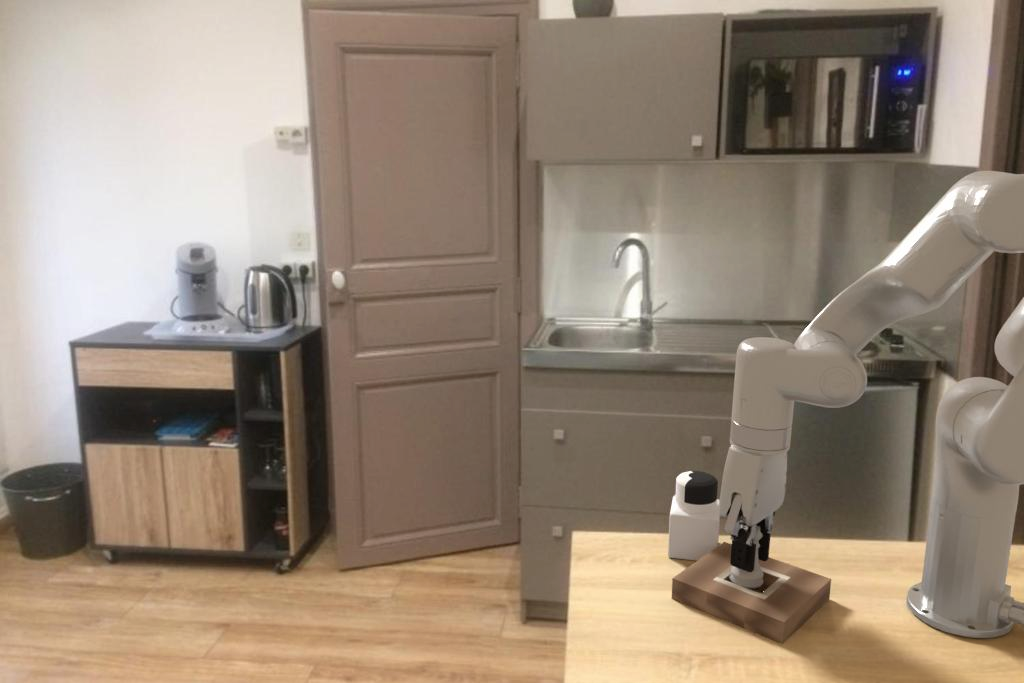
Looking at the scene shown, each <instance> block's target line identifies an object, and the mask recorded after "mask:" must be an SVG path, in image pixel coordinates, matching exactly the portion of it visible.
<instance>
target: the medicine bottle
mask: <svg viewBox="0 0 1024 683" xmlns="http://www.w3.org/2000/svg"><path fill="white" fill-rule="evenodd" d="M718 487H719V481H718V479H717V478H716V477H715V476H714V475H712V474H710V473H708V472H705V471H701V470H689V471H685V472H681V473H680V474H678V476H677V477H676V479H675V494H674V495H673V496H672V501H671V507H670V512H669V519H668V520H669V521H668V522H669V524H668V547H667V556H668V558H670V559H679V560H686V561H687V560H688V561H695V562H696V561H698V560H699V559H701V558H702V557H703V556H705V555H706V554H708V553H709V552H711V551H712V550H713V549H715V548H716V547H718V546H719V536H720V523H721V522H720V518H721V517H720V515H719V502H720V498H719V499H718Z"/></svg>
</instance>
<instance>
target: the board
mask: <svg viewBox="0 0 1024 683" xmlns="http://www.w3.org/2000/svg"><path fill="white" fill-rule="evenodd" d="M731 547H732V543H729V542H726V541H723V542H722V543H721V544H718V547H716V548H715V549H713V550H712V551H711V552H709V553H708V554H706V555H705V556H703V557H702V558H701V559H699V560H698V561H695V562H694V563H692V564H690V565H689V566H687V568H685V569H684V570H682V571H680V572H679V573H678V574H676V575H675V576H674V577H672V578H671V579H672V580H671V581H672V582H671V583H672V584H671V600H672V599H673V600H675V601H678V602H680V603H683V604H685V605H687V606H689V607H692V608H695V609H697V610H700V611H702V612H705V613H706V612H707V614H709V615H711V616H714V617H717V618H718V619H721V620H724V621H726V622H728V623H731V624H733V625H735V626H738V627H741V628H743V629H746V630H748V631H749V632H753V633H756V634H757V635H761V636H763V637H765V638H767V639H770V640H773V641H775V642H777V643H780V644H782V645H783V644H784V643H785V642H786V641H787V640H788V639H789V638H790V637H791V636H793V635H794V633H795V632H796V631H798V630H799V628H801V627H802V626H803V625H804V624H805V623H806V622H807V621H808V620H809V619H810V618H811V617H812V616H813V615H814V614H816V613H817V611H819V610H820V608H822V607H823V606H824V605H825V604H826V603H827V602H828V601H829V600H830V596H831V585H832V578H830V577H827V576H825V575H821V574H818V573H815V572H813V571H810V570H807V569H804V568H801V567H798V566H795V565H792V564H789V563H786V562H784V561H780V560H779V559H778V560H777V559H775V558H772V557H768V560H767V561H762V560H759V559H758V560H759V565H760V566H761V570H762V571H763V574H764V575H763V578H762V579H763V584H762V585H761V586H760V587H758V588H757V589H759V590H758V591H760V590H761V591H760V592H761V593H760V592H758V591H754V589H747V588H745V587H742V586H739V585H737V584H734V583H732V581H731V579H730V578H729V577H730V575H731V574H732V573H731V572H730V571H731V568H732V565H731V564H730V559H731ZM757 589H756V590H757ZM762 591H764V592H762Z"/></svg>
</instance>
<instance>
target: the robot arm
mask: <svg viewBox="0 0 1024 683" xmlns="http://www.w3.org/2000/svg"><path fill="white" fill-rule="evenodd" d="M994 252H996V253H997V252H998V253H1002V254H1005V253H1006V254H1019V253H1020V254H1021V253H1024V173H1018V174H1017V173H1010V172H1005V171H1004V172H1003V171H997V170H979V171H974V172H972V173H969V174H967V175H965V176H964V177H962V178H961V179H960V180H958V181H957V182H955V183H954V184H953V185H952V186H951V187H950V188H949V189H948V190H947V192H946V193H945V194H944V195H942V196H941V198H940V199H939V200H938V201H937V202H936V203H935V205H933V207H931V209H929V211H928V212H927V213H926V214H925V215H924V216H923V217H922V219H920V221H919V222H917V224H916V225H915V226H914V227H913V228H912V229H911V230H910V231H909V232H908V234H906V236H905V237H904V238H903V239H902V240H901V241H900V242H898V244H897V245H896V246H895V247H894V249H893V250H892V251H891V252H890V253H889V254H888V255H887V256H886V257H885V258H884V259H883V260H881V262H880V263H879V264H877V265H876V266H875V267H873V268H871V269H870V270H869V271H867V272H865V273H864V274H863V275H862V276H861V277H860V278H858V279H857V280H856V281H855V282H853V283H852V284H850V285H849V286H848V287H845V289H843V290H842V291H841V292H840V293H839V294H837V296H835V297H834V298H833V299H832V300H831V301H830V302H829V303H828V304H827V305H826V306H825V307H824V308H823V309H822V310H821V311H820V312H819V313H818V314H817V316H816V317H815V318H814V319H813V320H812V321H811V322H810V323H809V324H808V326H807V327H806V328H804V330H803V331H802V332H801V334H799V336H798V337H797V339H796V340H795V341H794V344H793V343H792V342H790V341H788V340H785V339H781V338H778V337H777V338H775V337H770V336H769V337H767V336H765V337H763V336H760V337H759V336H757V337H751V338H750V337H749V338H746V339H744V340H742V341H741V342H740V343H739V345H738V347H737V349H736V356H735V368H734V381H733V394H732V406H731V407H732V408H731V420H730V431H729V433H730V434H729V444H730V446H729V447H728V452H727V455H726V457H725V458H726V460H725V462H724V468H723V472H722V479H721V480H722V481H721V487H720V494H719V500H720V502H719V515H720V518H727V520H726V522H725V526H724V529H723V531H724V533H725V534H729V535H730V540H731V544H732V547H731V559H730V564H731V565H732V566H734V567H737V568H739V569H742V570H745V571H747V572H752V571H754V565H755V553H756V544H754V543H753V542H754V536H755V529H756V525H757V526H759V527H760V532H761V533H762V535H763V536H762V538H761V539H760V540H759V544H760V547H759V548H758V559H759V560H762V561H767V560H768V557H769V556H770V555H769V554H770V545H771V532H772V530H773V527H774V517H775V516H776V511H778V510H779V509H780V507H781V506H782V505H783V503H784V501H785V495H786V487H787V476H788V475H787V474H788V473H787V472H788V451H789V450H790V448H791V439H792V431H793V430H792V429H793V428H792V427H793V418H794V408H795V402H799V403H804V404H808V405H813V406H817V407H821V408H830V409H834V408H835V409H836V408H843V407H844V408H845V407H847V406H850V405H852V404H855V402H857V401H858V400H859V399H860V398H861V397H862V396H863V395H864V393H865V390H866V388H867V385H868V374H867V370H866V368H865V366H864V363H863V362H862V360H861V359H860V358H859V357H858V356H857V355H858V354H859V353H860V352H861V351H862V349H864V348H865V347H866V346H867V345H868V344H869V343H870V342H871V341H872V340H873V339H874V338H875V337H876V336H877V335H879V334H880V333H881V332H882V331H884V330H885V329H886V328H888V327H890V326H892V325H894V324H895V323H897V322H899V321H901V320H904V319H906V318H911V317H912V318H913V317H915V316H919V315H924V314H926V313H929V312H931V311H934V310H937V309H939V308H940V307H941V306H943V304H945V303H946V301H948V299H949V298H950V297H951V296H952V295H953V294H954V293H955V292H956V291H958V289H959V288H960V287H961V286H962V285H963V284H964V282H965V281H966V280H968V278H969V277H970V276H971V275H972V274H973V273H975V271H976V270H977V269H978V268H979V267H980V266H981V265H982V264H983V263H984V262H985V261H986V260H987V259H988V258H989V257H990V256H991V255H992V254H993V253H994ZM994 354H995V357H996V360H997V361H998V363H999V364H1000V365H1001V366H1002V368H1004V369H1005V370H1006V372H1008V373H1009V374H1010V375H1011V376H1013V378H1012V380H1011V381H1010V383H1009V384H1008V385H1007V384H1005V383H1004V382H1002V381H999V380H997V379H994V378H990V377H985V376H973V377H967V378H964V379H962V380H960V381H958V382H955V383H954V384H953V385H951V386H950V387H949V388H948V389H947V390H946V391H945V392H944V394H943V395H942V397H941V398H940V401H939V403H938V406H937V410H936V416H935V469H934V470H935V471H934V479H933V489H932V495H931V502H930V511H929V518H928V526H927V535H926V543H925V551H924V559H923V568H922V575H921V576H922V577H921V582H918V583H915V584H913V585H912V586H911V587H909V589H908V590H907V594H906V604H907V607H908V610H910V611H911V613H912V614H913V615H914V616H916V617H917V619H919V620H920V621H922V622H923V623H925V624H926V625H927V624H928V625H929V626H931V627H933V628H935V629H938V630H940V631H943V632H944V633H945V632H946V633H949V634H951V635H956V636H958V637H959V636H960V637H965V638H974V639H991V638H996V637H1001V636H1004V635H1006V634H1008V633H1009V632H1010V631H1011V630H1012V629H1013V627H1014V624H1015V623H1016V624H1018V625H1021V626H1023V627H1024V601H1023V602H1022V601H1020V600H1019V601H1018V600H1016V599H1015V597H1013V596H1011V590H1012V585H1008V584H1006V580H1007V575H1008V567H1009V562H1010V554H1011V547H1012V543H1013V542H1012V541H1013V535H1014V534H1013V533H1014V528H1015V522H1016V514H1017V511H1018V510H1017V509H1018V503H1019V497H1020V495H1019V494H1020V486H1021V485H1024V296H1023V297H1022V299H1020V301H1019V303H1018V304H1017V306H1016V307H1015V308H1014V310H1013V311H1012V313H1011V314H1010V316H1009V317H1008V318H1007V320H1006V321H1005V322H1004V323H1003V325H1002V327H1001V329H1000V330H999V332H998V334H997V336H996V338H995V341H994ZM741 525H745V526H747V527H748V531H747V532H746V531H745V529H742V528H741Z"/></svg>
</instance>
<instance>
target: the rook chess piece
mask: <svg viewBox="0 0 1024 683" xmlns="http://www.w3.org/2000/svg"><path fill="white" fill-rule="evenodd" d="M740 528H742V529H745V531H746V532H747V531H748V527H747V526H745V525H742V524H740ZM762 536H763V535H762V533H761V532H760V527H759V526H757V525H756V529H755V536H754V542H753V543H754V544H756V553H755V565H754V571H752V572H747V571H745V570H742V569H739V568H737V567H734V566H732V568H731V571H730V572H731V573H732V574H731V575H730V577H729V578H730V579H731V581H732V583H734V584H737V585H739V586H742V587H745V588H747V589H750V590H757V589H756V588H758V587H760V586H761V585H762V584H763V579H762V578H763V575H764V574H763V571H762V570H761V566H760V565H759V560H758V548H759V547H760V544H759V540H760V539H761V538H762Z"/></svg>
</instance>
